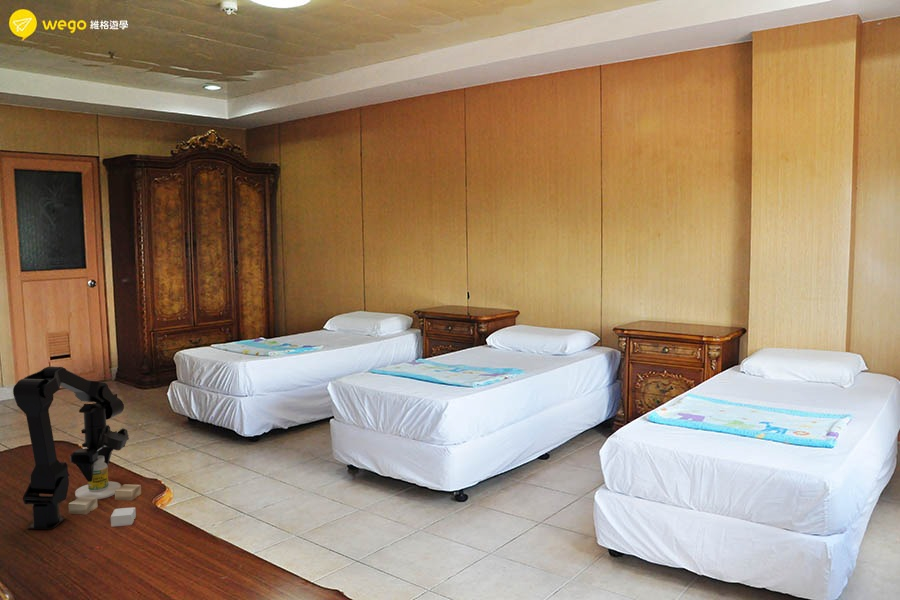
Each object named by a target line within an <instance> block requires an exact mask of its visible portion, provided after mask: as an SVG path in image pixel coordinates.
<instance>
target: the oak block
mask: <svg viewBox="0 0 900 600" xmlns="http://www.w3.org/2000/svg"><path fill="white" fill-rule="evenodd" d="M141 485H142V484H128V483H127V484H126V483H124V484H123V485H121V487H120V488H118V489H117V490H115V495H114V500H115V501H126V502H127V501H128V502H132V501H134V500H135V499H136V498H138V497H139V496H140V495H142V486H141ZM137 496H138V497H137Z"/></svg>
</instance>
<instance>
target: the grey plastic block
mask: <svg viewBox="0 0 900 600" xmlns="http://www.w3.org/2000/svg"><path fill="white" fill-rule="evenodd" d="M136 516H137V515H136V507H122V508H115V509H113V512H112V514H111V516H110V526H111V528H112V527H113V528H114V527H123V526H132V525H133V523H134V522H135V520H134V519H136Z"/></svg>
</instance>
